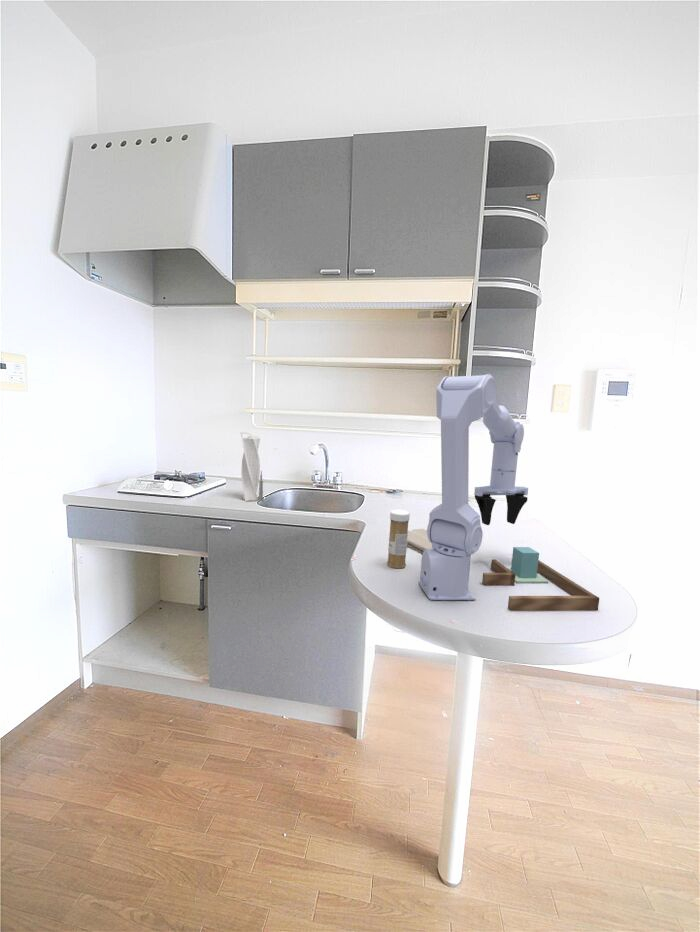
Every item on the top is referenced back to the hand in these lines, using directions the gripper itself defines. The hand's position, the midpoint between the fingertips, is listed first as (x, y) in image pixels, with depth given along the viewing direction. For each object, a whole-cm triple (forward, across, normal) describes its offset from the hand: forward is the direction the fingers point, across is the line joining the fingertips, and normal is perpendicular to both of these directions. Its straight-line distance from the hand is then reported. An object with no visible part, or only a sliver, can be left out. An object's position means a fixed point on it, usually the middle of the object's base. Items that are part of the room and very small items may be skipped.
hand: (498, 523), depth 95 cm
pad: (+10, +1, -8) cm, 13 cm away
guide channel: (+10, -3, -14) cm, 17 cm away
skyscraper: (+11, -56, +81) cm, 99 cm away
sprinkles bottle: (+11, -26, +3) cm, 28 cm away
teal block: (+10, +1, -8) cm, 13 cm away
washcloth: (+11, -11, +16) cm, 23 cm away
